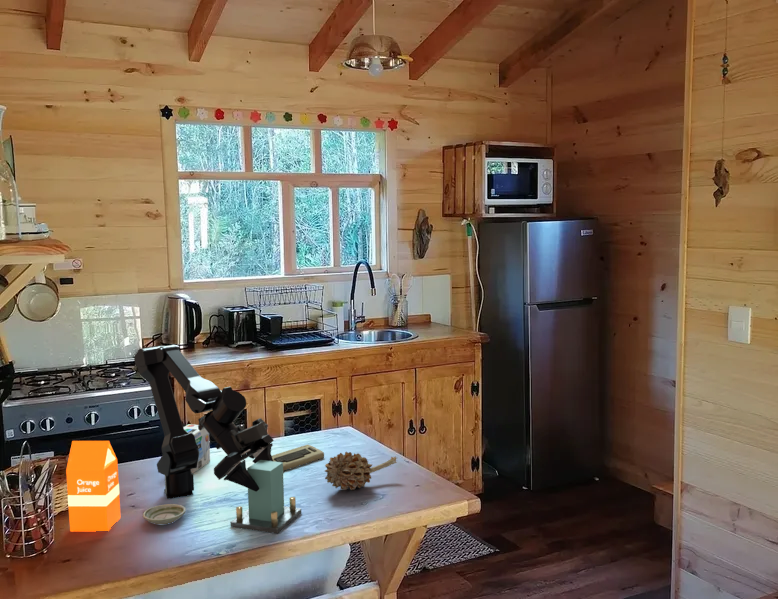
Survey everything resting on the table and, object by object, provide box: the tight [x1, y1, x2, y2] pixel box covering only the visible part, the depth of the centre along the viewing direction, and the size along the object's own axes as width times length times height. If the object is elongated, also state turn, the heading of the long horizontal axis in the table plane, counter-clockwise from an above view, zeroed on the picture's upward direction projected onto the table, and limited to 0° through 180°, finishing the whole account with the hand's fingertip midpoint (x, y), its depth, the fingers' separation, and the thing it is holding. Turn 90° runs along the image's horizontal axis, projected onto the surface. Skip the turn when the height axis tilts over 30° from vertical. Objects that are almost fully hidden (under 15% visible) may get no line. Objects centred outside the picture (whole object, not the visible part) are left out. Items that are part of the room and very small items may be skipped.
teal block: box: [246, 460, 285, 521], centre depth 174 cm, size 6×6×12 cm
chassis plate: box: [230, 496, 302, 535], centre depth 174 cm, size 12×12×4 cm
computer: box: [271, 444, 325, 472], centre depth 215 cm, size 16×8×3 cm, turn 137°
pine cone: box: [324, 451, 398, 491], centre depth 195 cm, size 22×10×10 cm, turn 129°
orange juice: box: [65, 440, 122, 533], centre depth 172 cm, size 8×9×20 cm
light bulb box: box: [183, 424, 211, 474], centre depth 212 cm, size 11×7×11 cm, turn 169°
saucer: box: [142, 503, 187, 525], centre depth 175 cm, size 10×10×2 cm
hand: (267, 483), depth 173 cm, fingers open, 9 cm apart
